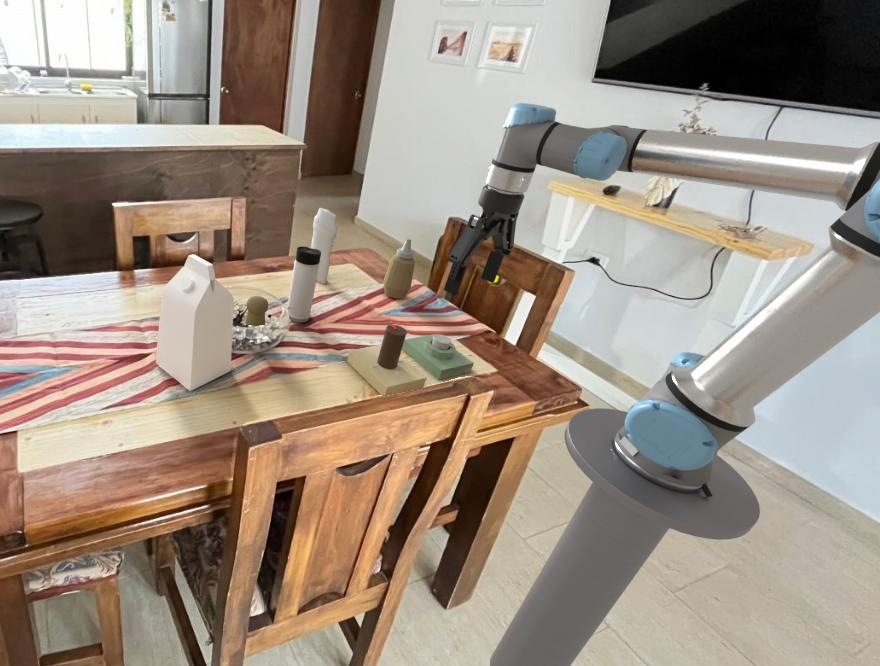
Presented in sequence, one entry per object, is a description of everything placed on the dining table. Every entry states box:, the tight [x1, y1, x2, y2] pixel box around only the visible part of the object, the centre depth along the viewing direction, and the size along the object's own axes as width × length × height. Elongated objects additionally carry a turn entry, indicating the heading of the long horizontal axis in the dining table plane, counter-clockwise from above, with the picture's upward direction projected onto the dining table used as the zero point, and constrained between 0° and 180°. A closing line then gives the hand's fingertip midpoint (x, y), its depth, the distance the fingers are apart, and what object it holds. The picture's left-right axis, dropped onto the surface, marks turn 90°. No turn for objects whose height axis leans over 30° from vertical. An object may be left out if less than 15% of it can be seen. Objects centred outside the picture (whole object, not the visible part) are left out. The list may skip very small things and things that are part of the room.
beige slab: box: [346, 343, 427, 397], centre depth 117 cm, size 14×11×3 cm
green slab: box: [402, 333, 475, 380], centre depth 124 cm, size 13×10×4 cm
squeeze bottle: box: [383, 238, 416, 300], centre depth 151 cm, size 8×8×18 cm
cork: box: [244, 295, 269, 326], centre depth 124 cm, size 6×6×11 cm
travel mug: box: [286, 245, 321, 323], centre depth 133 cm, size 6×7×20 cm
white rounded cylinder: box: [310, 207, 338, 285], centre depth 155 cm, size 11×4×22 cm, turn 29°
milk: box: [155, 253, 235, 392], centre depth 107 cm, size 12×12×26 cm
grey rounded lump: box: [432, 333, 452, 350], centre depth 123 cm, size 4×4×2 cm
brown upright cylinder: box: [377, 323, 408, 369], centre depth 114 cm, size 4×4×9 cm
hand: (469, 286), depth 109 cm, fingers open, 13 cm apart
